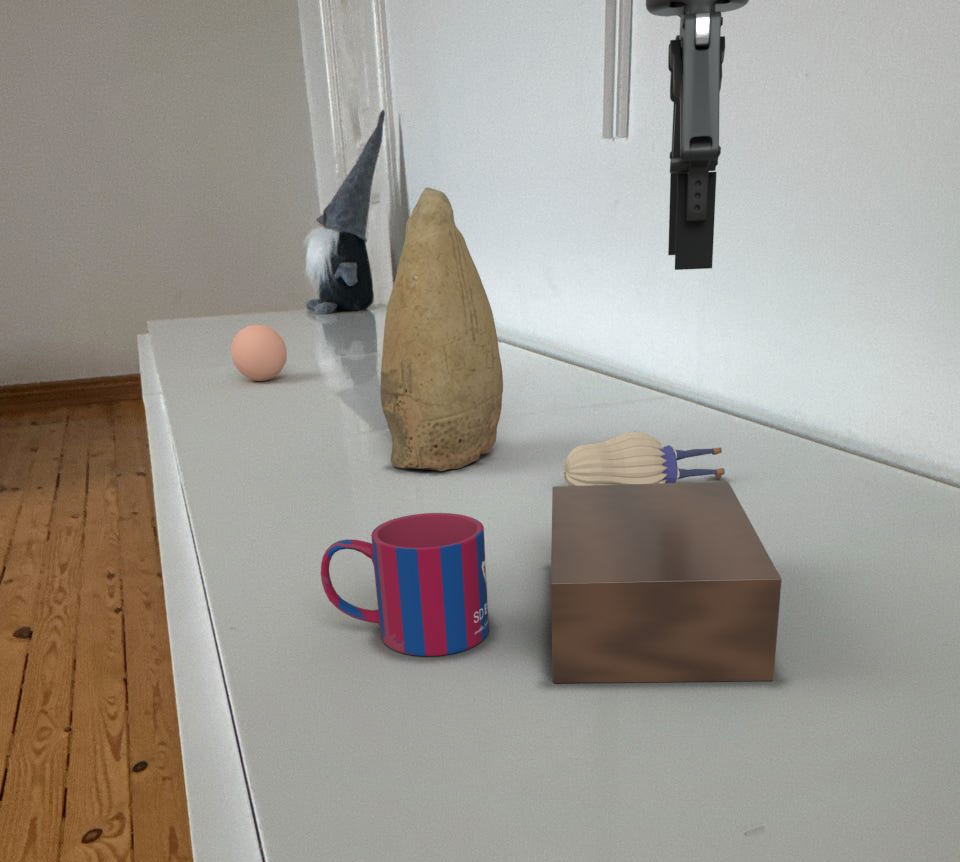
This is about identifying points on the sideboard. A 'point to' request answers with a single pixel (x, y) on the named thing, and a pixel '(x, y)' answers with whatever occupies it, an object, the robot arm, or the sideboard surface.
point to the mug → (423, 583)
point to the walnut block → (659, 586)
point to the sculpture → (439, 348)
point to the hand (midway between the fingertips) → (688, 261)
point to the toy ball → (258, 352)
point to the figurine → (631, 462)
